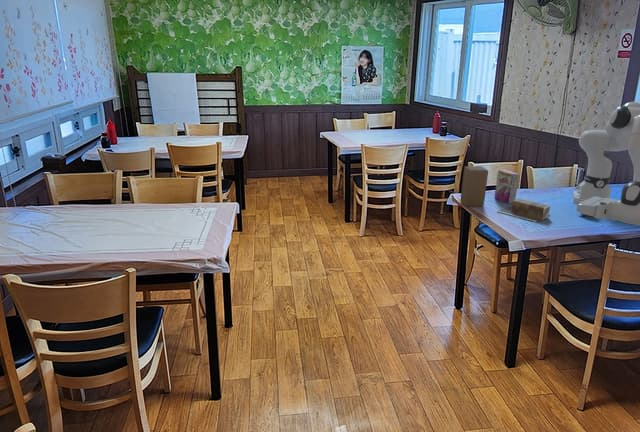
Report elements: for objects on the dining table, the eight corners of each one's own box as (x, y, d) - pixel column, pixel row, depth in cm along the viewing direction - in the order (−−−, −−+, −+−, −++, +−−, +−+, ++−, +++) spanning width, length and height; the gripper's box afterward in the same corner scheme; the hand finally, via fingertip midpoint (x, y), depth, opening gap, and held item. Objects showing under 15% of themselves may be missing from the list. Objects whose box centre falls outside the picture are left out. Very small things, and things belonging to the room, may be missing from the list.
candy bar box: (493, 198, 256) (497, 169, 251) (500, 197, 258) (504, 169, 252) (508, 204, 246) (512, 174, 241) (515, 203, 248) (519, 173, 243)
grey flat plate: (550, 215, 229) (550, 214, 229) (535, 222, 220) (535, 221, 219) (512, 205, 244) (512, 204, 243) (496, 212, 234) (497, 211, 234)
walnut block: (550, 205, 223) (518, 198, 235) (544, 208, 220) (513, 200, 231) (547, 217, 225) (516, 209, 237) (542, 219, 222) (511, 211, 233)
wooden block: (477, 201, 251) (482, 165, 244) (484, 206, 242) (489, 170, 235) (459, 201, 251) (463, 165, 244) (465, 206, 241) (470, 170, 235)
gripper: (617, 197, 207) (584, 190, 217) (600, 206, 194) (566, 198, 204) (614, 210, 209) (582, 203, 219) (597, 219, 196) (564, 211, 206)
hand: (574, 201), depth 211 cm, fingers closed
